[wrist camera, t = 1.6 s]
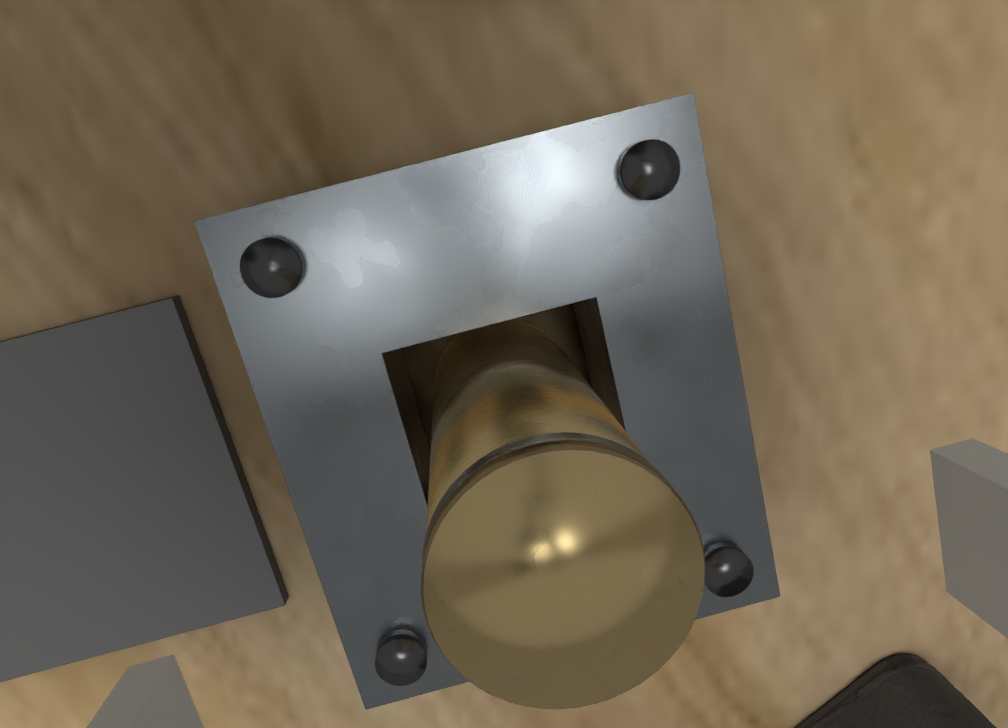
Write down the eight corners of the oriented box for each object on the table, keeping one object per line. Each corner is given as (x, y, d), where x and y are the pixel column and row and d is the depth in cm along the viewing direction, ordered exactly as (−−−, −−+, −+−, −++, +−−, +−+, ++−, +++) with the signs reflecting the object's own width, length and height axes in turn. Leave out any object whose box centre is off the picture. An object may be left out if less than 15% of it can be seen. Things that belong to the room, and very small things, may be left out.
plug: (416, 335, 25) (384, 494, 12) (553, 299, 26) (678, 415, 12) (453, 465, 27) (463, 742, 13) (584, 430, 27) (729, 669, 13)
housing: (244, 216, 24) (185, 221, 19) (643, 113, 24) (700, 89, 19) (379, 620, 28) (363, 722, 22) (722, 527, 28) (788, 606, 23)
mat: (-167, 384, 24) (-182, 389, 24) (178, 295, 24) (171, 298, 24) (-19, 679, 27) (-29, 689, 26) (288, 596, 27) (285, 605, 27)
